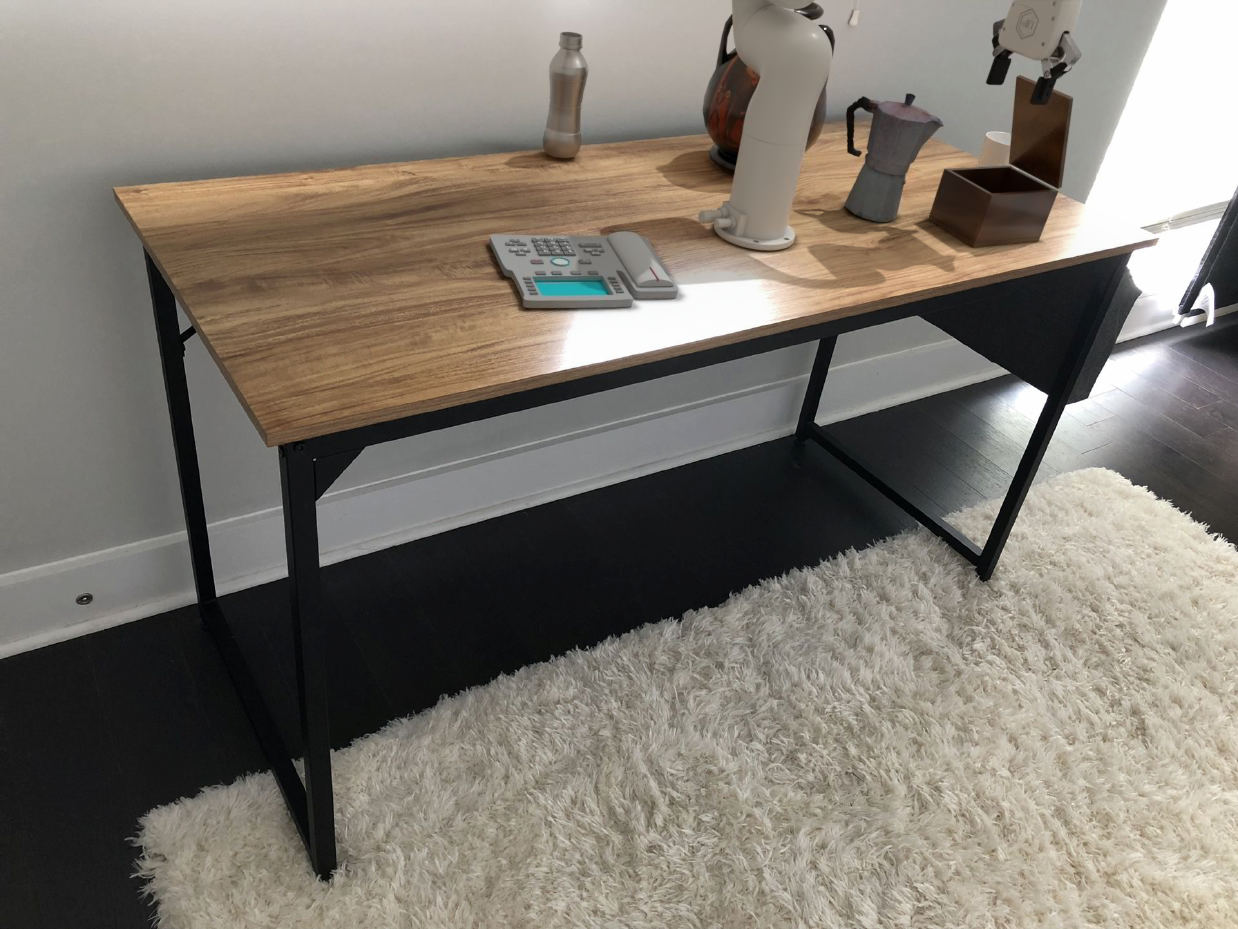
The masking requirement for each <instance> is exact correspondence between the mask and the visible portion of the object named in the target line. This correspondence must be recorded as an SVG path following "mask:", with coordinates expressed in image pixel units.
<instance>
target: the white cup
mask: <svg viewBox="0 0 1238 929" xmlns="http://www.w3.org/2000/svg"><path fill="white" fill-rule="evenodd" d="M1010 144H1011V133H1009V132H1004V131H988V132H985V136H984V139H983V143H982V146H981V150H980V152H979V157H978V159H977V164H976V167H989V166H1009V165H1010V166H1011V167H1013V168H1015V169H1017V170H1019V171H1020V169H1018V168H1016V167H1015V166H1013V165H1011V164H1009V155H1010Z"/></svg>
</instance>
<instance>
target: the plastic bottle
mask: <svg viewBox="0 0 1238 929" xmlns="http://www.w3.org/2000/svg"><path fill="white" fill-rule="evenodd" d="M558 46H559V49H558V50H557V52H556V53H555V54H554V56H553V57H552V59H551V60H550V63H549V65H548V66H549V67H548V72H549V74H548V77H549V105H548V113H547V118H546V125H545V128H544V131H543V137H542V147H543V150H544V152H545V154H546V155H549V156H551V157H554V158H558V159H571V158H574V157H576V156H577V155H578V154H579V152H580V150H581V146H582V130H581V120H582V119H581V117H582V114H581V112H582V104H583V99H584V93H585V88H586V86H587V85H586V84H587V80H588V76H589V64H588V62H587V60H586V57H585V56H584V55H583V53H582V51H581V50H582V49H583V47H584V45H583V35H582V34H581V33H579V32H573V31H562V32H560V34H559V41H558Z"/></svg>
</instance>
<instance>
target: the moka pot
mask: <svg viewBox="0 0 1238 929" xmlns="http://www.w3.org/2000/svg"><path fill="white" fill-rule="evenodd" d="M915 99H916V95H915V94H913V93H906V94H905V99H904V102H902V101H893V100H885V101H880V100H876V99H870V98H868V97H866V96H864V95H863V96H861V97H860V98H858V99H857V100H856V101H853V102H852V104H850V105H849V106H848V107H847V108H846V112H845V117H846V118H845V121H846V137H847V138H846V153H847V154H849V155H851V156H854V157H857V158H860V157H861V155H862V154H863V152H862V151H861V150H858V149H856V148H855V141H854V138H855V137H854V136H855V112H856V111H857V110H858V109H862V110H864V111H865V112H867V113H870V114H872V119H871V124H870V128H869V135H868V139H867V144H866V150H867V153H866V154H865V155H864V163H863V165H862V166H861V167H860V170H859V171H858V172H859V173H858V174H857V177H856V180H855V181H854V182H853V185H852V186H851V189H850V191H849V193H848V196H847V197H846V200H845V202H844V206H845V208H846V209H847V210H848V211H850V212H851V213H852V214H854V215H856V216H858V217H859V218H862V219H865V220H870V221H873V222H878V223H890V222H892V221H894V220H895V219H896V218H897V216H898V213H899V209H900V204H901V199H902V197H903V196H902V195H903V192H904V186H905V185H906V184H907V180H906V178H907V175H906V174H908V171H909V169H910V166H911V165H912V164H913V163H914V162H915V160H916V159H917V157H918V155H919V153H920V151H921V149H922V147H923V146H924V145H925V144H926V143H927V142H928V141H929V140H930V139H931V137H932V136H934V134H935V133H936V132H937V131H938V130H939V129H940V128H942V127H945V125H944V123H943V121H942V120H941V119H940V118H939V117H938V116H935V115H934V114H931V113H930V112H929V111H928V110H926V109H924V108H922V107H918V106H916V105H915V104H914V105H913V103H914V101H915Z"/></svg>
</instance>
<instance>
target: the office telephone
mask: <svg viewBox="0 0 1238 929" xmlns="http://www.w3.org/2000/svg"><path fill="white" fill-rule="evenodd" d="M489 245H490V248H491V251H492V252H493V254H494V256H495V259H496V261H497V263H498V265H499V267H500V270H501V271H502V273H503V275H504V276H505V277H507V278H510V279H512V281H513V282H514V284H515V286H516V288H517V290H518V293H519V295H520V298H521V299H522V307H524V308H527V309H574V308H575V309H583V308H584V309H585V308H587V309H589V308H625V307H626V308H627V307H632V306H633V302H634V298H635V299H640V300H641V299H643V300H644V299H645V300H646V299H649V300H651V299H654V300H657V299H660V300H661V299H676V298H677V296H678V291H679V287H678V286H677V284H676V282H675V280H674V278H673V277H672V275H671V274H670V272H669V271H668V268H667V267H666V264H664V262H663V259H661V257H660V256H659V254H658V253H657V252H656V250H655V248H654V246H653V245H652V244H651V242H650V241H649V239H648V237H647V236H644V235H639V234H638V233H636V232H632V231H616V232H613V233H610V234H609V235H556V234H555V235H550V234H549V235H547V234H545V235H544V234H543V235H542V234H541V235H540V234H490V235H489ZM627 288H628V289H627ZM629 291H630V292H629Z"/></svg>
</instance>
